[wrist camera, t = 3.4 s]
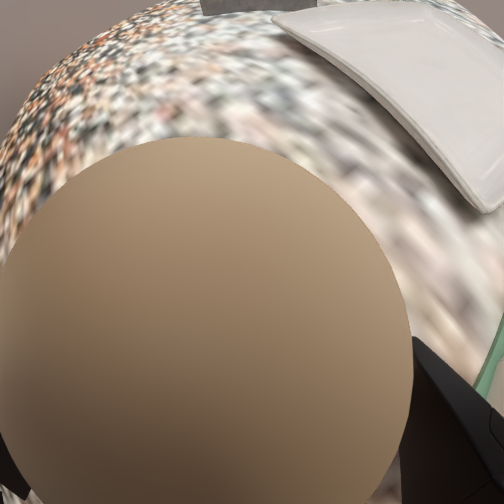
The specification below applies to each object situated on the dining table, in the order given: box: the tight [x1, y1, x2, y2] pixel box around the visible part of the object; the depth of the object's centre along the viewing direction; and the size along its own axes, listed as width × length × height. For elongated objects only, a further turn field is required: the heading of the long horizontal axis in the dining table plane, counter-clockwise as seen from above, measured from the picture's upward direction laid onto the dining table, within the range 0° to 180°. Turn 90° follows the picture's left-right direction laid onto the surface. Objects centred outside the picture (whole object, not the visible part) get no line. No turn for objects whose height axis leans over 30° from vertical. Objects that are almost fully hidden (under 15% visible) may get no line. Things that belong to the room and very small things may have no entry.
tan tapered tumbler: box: [0, 137, 413, 504], centre depth 8 cm, size 5×5×13 cm
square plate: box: [271, 1, 504, 214], centre depth 20 cm, size 27×27×4 cm
